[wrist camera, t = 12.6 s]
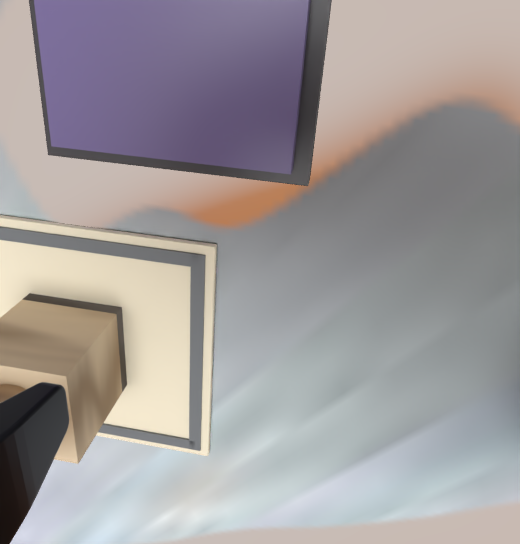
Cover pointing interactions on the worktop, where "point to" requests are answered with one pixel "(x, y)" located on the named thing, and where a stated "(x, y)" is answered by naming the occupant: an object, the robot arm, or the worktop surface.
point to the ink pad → (184, 83)
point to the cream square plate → (131, 317)
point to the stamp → (66, 360)
